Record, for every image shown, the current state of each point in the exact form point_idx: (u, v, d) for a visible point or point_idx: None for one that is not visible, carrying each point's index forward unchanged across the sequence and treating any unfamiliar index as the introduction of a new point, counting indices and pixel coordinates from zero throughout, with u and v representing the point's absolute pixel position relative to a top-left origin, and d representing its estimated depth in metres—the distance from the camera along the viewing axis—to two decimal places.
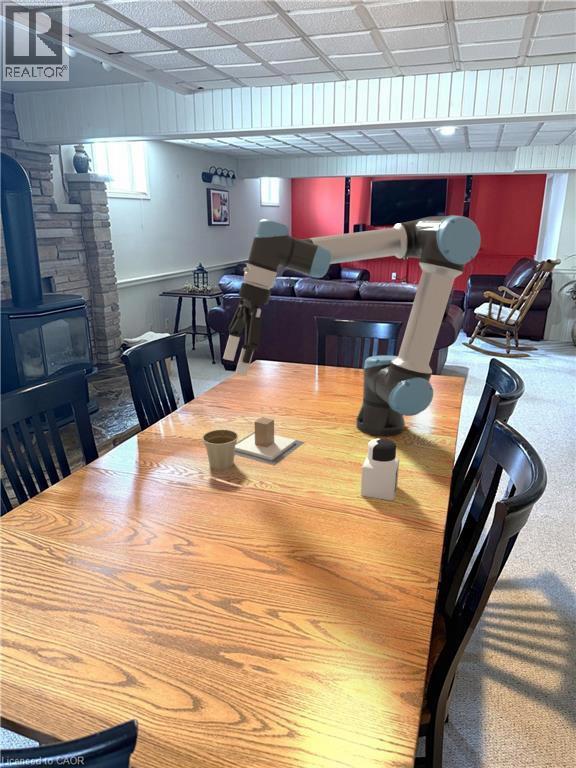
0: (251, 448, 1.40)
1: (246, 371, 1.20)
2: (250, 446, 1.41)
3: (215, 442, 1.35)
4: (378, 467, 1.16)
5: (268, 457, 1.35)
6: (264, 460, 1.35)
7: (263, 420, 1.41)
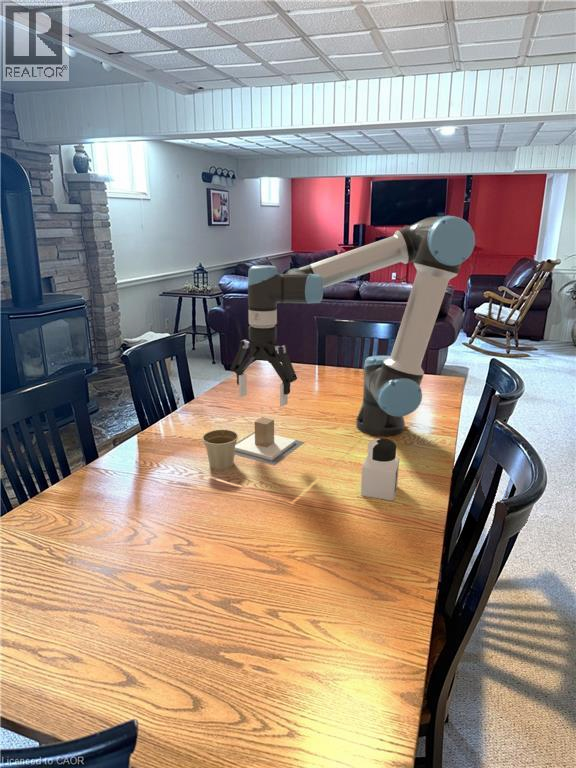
0: (251, 448, 1.40)
1: (286, 400, 1.36)
2: (250, 446, 1.41)
3: (215, 442, 1.35)
4: (378, 467, 1.16)
5: (268, 457, 1.35)
6: (264, 460, 1.35)
7: (263, 420, 1.41)
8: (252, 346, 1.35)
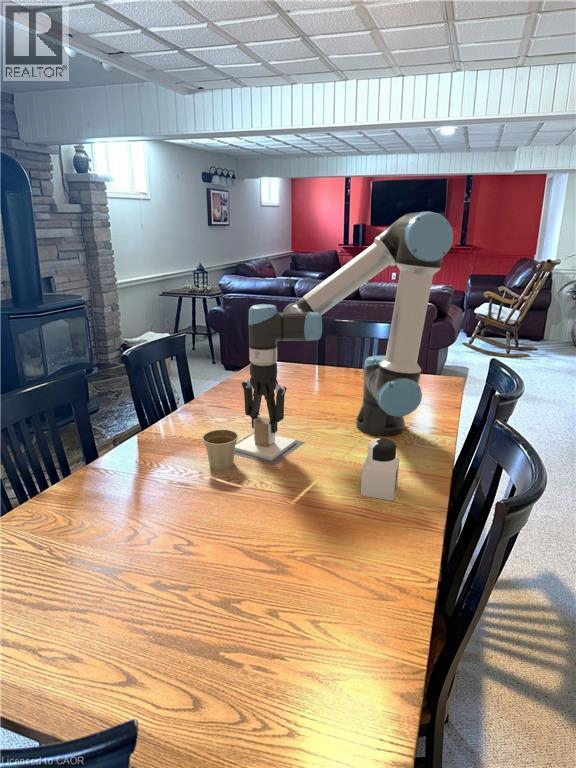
0: (251, 448, 1.40)
1: (274, 437, 1.42)
2: (250, 446, 1.41)
3: (215, 442, 1.35)
4: (378, 467, 1.16)
5: (268, 457, 1.35)
6: (264, 460, 1.35)
7: (263, 420, 1.41)
8: (253, 381, 1.38)
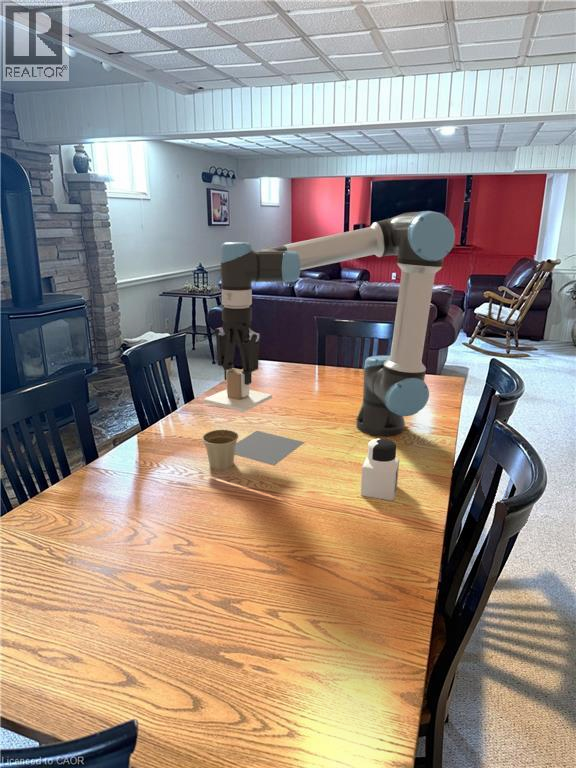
0: (223, 400, 1.30)
1: (248, 390, 1.31)
2: (222, 399, 1.31)
3: (215, 442, 1.35)
4: (378, 467, 1.16)
5: (239, 409, 1.25)
6: (264, 460, 1.35)
7: (237, 371, 1.31)
8: (226, 327, 1.27)
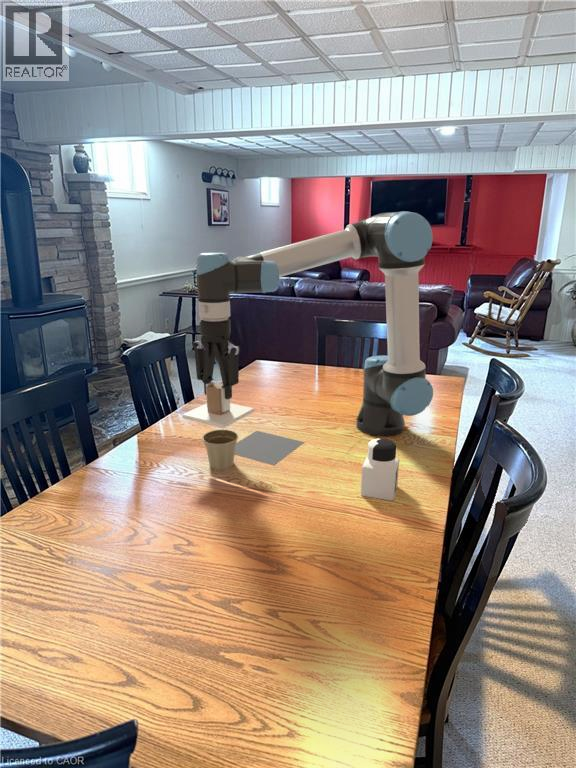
0: (203, 415, 1.25)
1: (229, 405, 1.27)
2: (202, 414, 1.26)
3: (215, 442, 1.35)
4: (378, 467, 1.16)
5: (219, 425, 1.21)
6: (264, 460, 1.35)
7: (217, 385, 1.27)
8: (204, 340, 1.23)
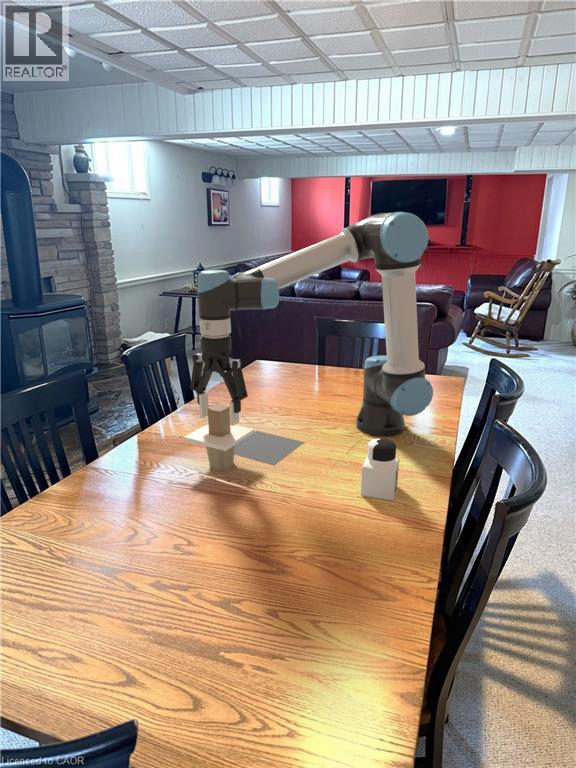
0: (204, 438, 1.27)
1: (238, 418, 1.27)
2: (203, 436, 1.28)
3: None
4: (378, 467, 1.16)
5: (221, 447, 1.22)
6: (264, 460, 1.35)
7: (218, 407, 1.28)
8: (205, 357, 1.24)
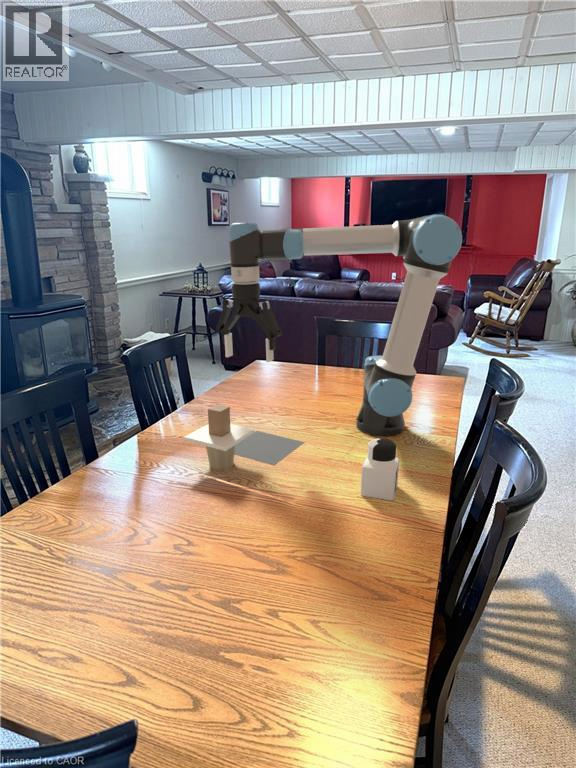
0: (204, 438, 1.27)
1: (273, 356, 1.38)
2: (203, 436, 1.28)
3: None
4: (378, 467, 1.16)
5: (222, 447, 1.22)
6: (264, 460, 1.35)
7: (218, 407, 1.28)
8: (236, 304, 1.37)
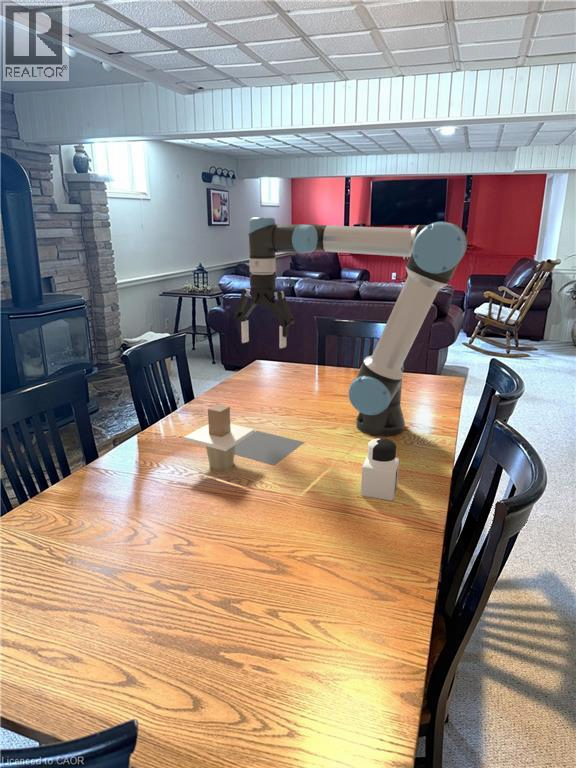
0: (204, 438, 1.27)
1: (285, 342, 1.48)
2: (203, 436, 1.28)
3: None
4: (378, 467, 1.16)
5: (222, 447, 1.22)
6: (264, 460, 1.35)
7: (218, 407, 1.28)
8: (253, 293, 1.47)
